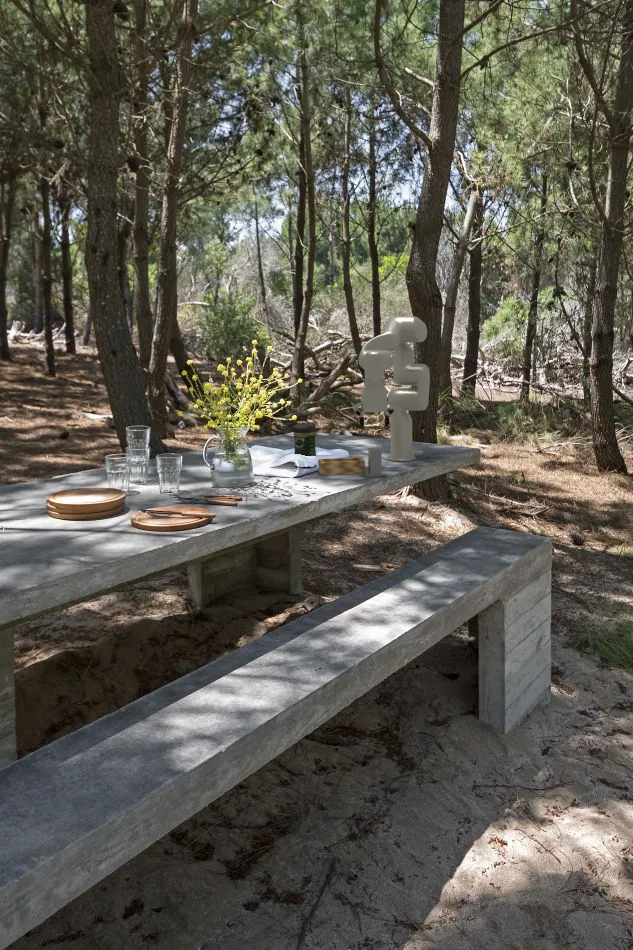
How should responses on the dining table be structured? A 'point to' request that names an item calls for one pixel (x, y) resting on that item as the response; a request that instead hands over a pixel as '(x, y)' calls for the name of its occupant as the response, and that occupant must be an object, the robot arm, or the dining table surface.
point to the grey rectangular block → (374, 462)
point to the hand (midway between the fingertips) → (374, 426)
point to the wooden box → (341, 466)
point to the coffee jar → (305, 439)
